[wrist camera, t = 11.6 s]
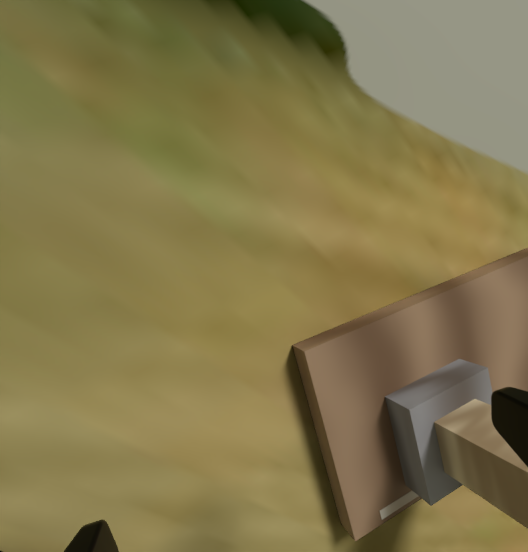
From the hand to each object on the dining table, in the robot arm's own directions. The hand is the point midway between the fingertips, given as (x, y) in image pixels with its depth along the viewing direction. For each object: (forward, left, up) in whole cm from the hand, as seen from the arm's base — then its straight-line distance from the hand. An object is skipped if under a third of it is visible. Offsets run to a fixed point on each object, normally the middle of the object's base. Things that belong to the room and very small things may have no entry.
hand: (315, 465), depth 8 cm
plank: (+7, -15, -12) cm, 20 cm away
